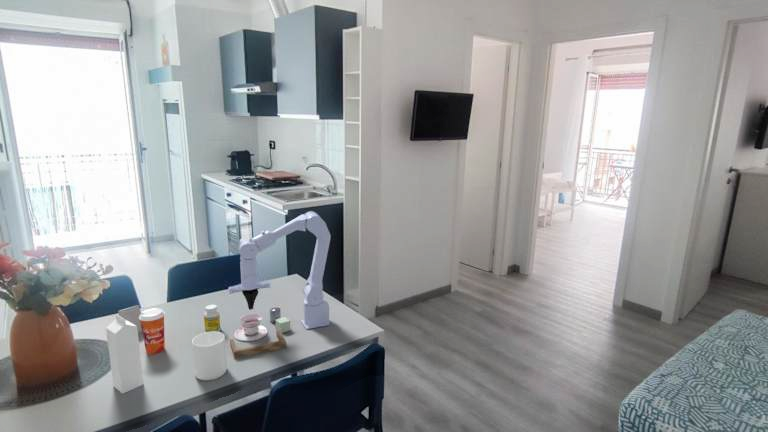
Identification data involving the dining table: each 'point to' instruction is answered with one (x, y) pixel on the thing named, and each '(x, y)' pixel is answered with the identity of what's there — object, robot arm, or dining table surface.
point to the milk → (124, 355)
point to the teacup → (250, 328)
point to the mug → (209, 355)
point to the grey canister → (274, 314)
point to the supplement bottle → (212, 318)
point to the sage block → (282, 324)
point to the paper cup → (153, 330)
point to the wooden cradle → (258, 347)
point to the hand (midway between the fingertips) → (250, 308)
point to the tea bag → (132, 316)
